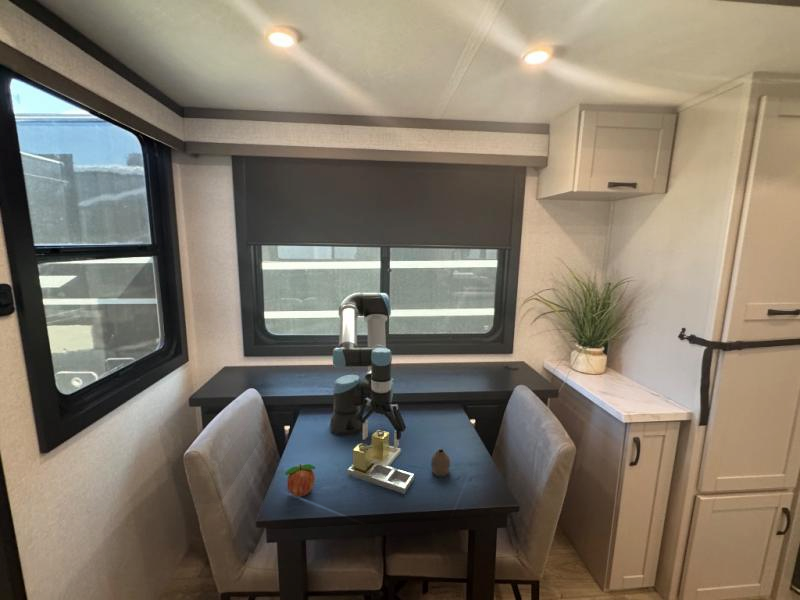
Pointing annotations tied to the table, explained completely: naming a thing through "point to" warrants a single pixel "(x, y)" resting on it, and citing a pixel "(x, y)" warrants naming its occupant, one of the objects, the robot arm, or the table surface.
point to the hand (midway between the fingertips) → (380, 442)
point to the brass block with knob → (362, 457)
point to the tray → (389, 456)
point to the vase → (440, 463)
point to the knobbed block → (380, 445)
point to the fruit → (300, 480)
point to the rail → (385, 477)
